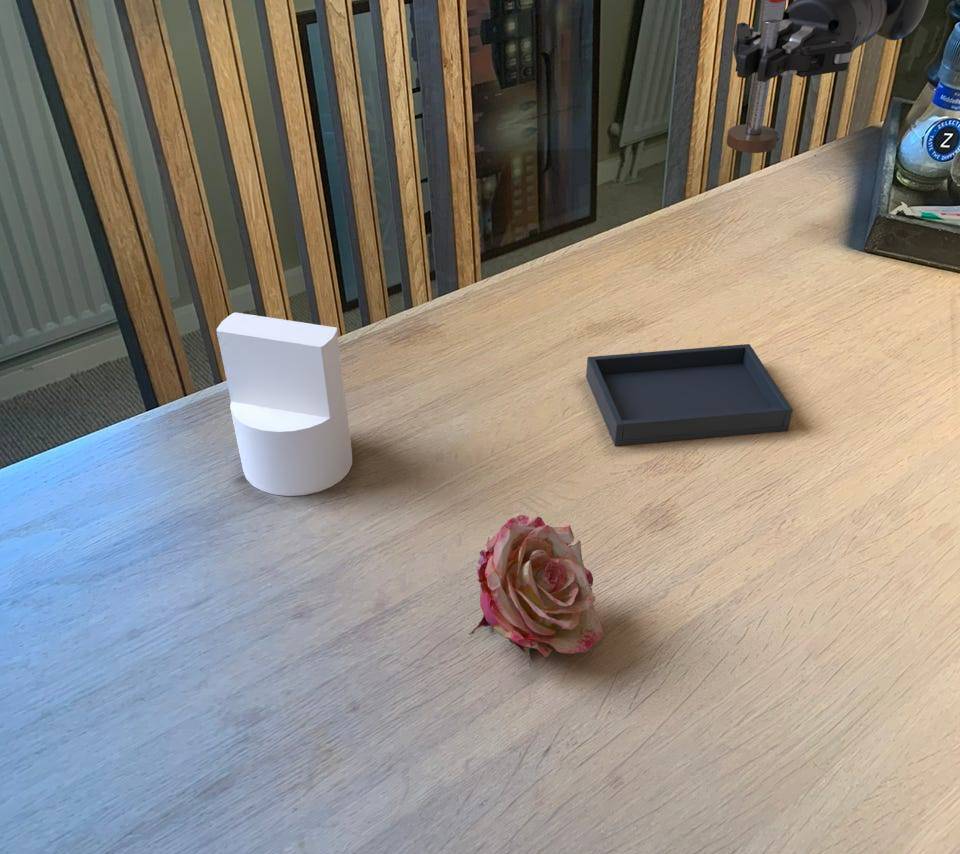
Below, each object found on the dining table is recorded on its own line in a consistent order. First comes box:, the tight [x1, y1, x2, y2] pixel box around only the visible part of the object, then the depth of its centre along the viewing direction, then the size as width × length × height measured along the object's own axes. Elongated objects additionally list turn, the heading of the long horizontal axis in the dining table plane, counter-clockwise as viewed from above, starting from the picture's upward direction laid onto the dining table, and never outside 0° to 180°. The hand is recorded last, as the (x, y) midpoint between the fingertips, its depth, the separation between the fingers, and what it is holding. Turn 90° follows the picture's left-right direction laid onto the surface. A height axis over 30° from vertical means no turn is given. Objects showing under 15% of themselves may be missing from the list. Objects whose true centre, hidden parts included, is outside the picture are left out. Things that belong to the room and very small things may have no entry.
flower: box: [468, 514, 604, 668], centre depth 68 cm, size 10×9×8 cm
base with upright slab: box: [216, 311, 353, 497], centre depth 81 cm, size 9×9×12 cm
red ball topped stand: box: [726, 0, 787, 154], centre depth 103 cm, size 5×5×17 cm
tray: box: [585, 343, 794, 447], centre depth 90 cm, size 15×11×2 cm
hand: (752, 68), depth 102 cm, fingers closed on red ball topped stand
